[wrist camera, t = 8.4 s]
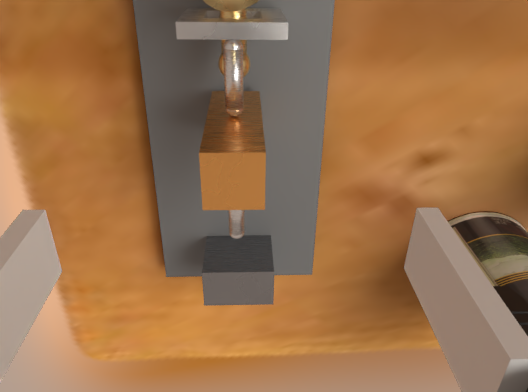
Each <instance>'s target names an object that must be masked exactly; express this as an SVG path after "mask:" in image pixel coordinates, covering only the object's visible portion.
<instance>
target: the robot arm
mask: <svg viewBox="0 0 528 392" xmlns="http://www.w3.org/2000/svg"><path fill="white" fill-rule="evenodd" d="M404 270H405V272H406V274H407V276H408V278H409V280H410V282H411V285H412V287H413V289H414V291H415V293H416V295H417V297H418V299H419V302H420V304H421V306H422V308H423V310H424V312H425V314H426V317H427V319H428V321H429V323H430V325H431V327H432V329H433V332H434V334H435V336H436V338H437V340H438V342H439V344H440V346H441V349H442V351H443V353H444V355H445V357H446V359H447V361H448V364H449V366H450V368H451V370H452V372H453V374H454V376H455V378H456V381H457V383H458V385H459V387H460V389H461V391H462V392H528V303H527V302H526V301H525V299H524V298H523V297H522V296H520V295H519V294H518V293H516V292H515V291H514V290H512V289H511V288H510V287H508V286H492V285H491V283H490V282H489V280H488V279H487V277H486V276H485V274H484V273H483V272H482V270H481V269H480V267H479V266H478V264H477V263H476V262H475V260H474V259H473V257H472V256H471V254H470V253H469V252H468V250H467V249H466V247H465V246H464V244H463V243H462V242H461V240H460V239H459V237H458V236H457V234H456V233H455V232H454V230H453V229H452V227H451V226H450V224H449V223H448V221H447V220H446V219H445V217H444V216H443V214H442V213H441V211H440V210H439V209H438V208H417V209H416V214H415V219H414V223H413V228H412V232H411V237H410V242H409V246H408V251H407V255H406V260H405V265H404ZM61 273H62V269H61V265H60V262H59V258H58V254H57V251H56V247H55V244H54V240H53V236H52V233H51V229H50V225H49V222H48V218H47V214H46V211H45V210H22V212H21V213H20V214H19V215H18V217H17V218H16V219H15V220H14V221H13V223H12V224H11V225H10V226H9V228H8V229H7V230H6V231H5V232H4V234H3V235H2V236H1V237H0V383H1V381H2V379H3V377H4V375H5V374H6V372H7V370H8V368H9V366H10V364H11V363H12V361H13V359H14V357H15V355H16V354H17V352H18V350H19V348H20V346H21V345H22V343H23V341H24V339H25V337H26V335H27V334H28V332H29V330H30V328H31V327H32V325H33V323H34V321H35V319H36V318H37V316H38V314H39V312H40V310H41V309H42V307H43V305H44V303H45V301H46V300H47V298H48V296H49V294H50V292H51V291H52V289H53V287H54V285H55V283H56V282H57V280H58V278H59V276H60V274H61Z"/></svg>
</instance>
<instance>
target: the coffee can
mask: <svg viewBox="0 0 528 392" xmlns="http://www.w3.org/2000/svg"><path fill="white" fill-rule="evenodd" d="M448 223H449V224H450V226H451V227H452V229H453V230H454V232H455V233H456V234H457V236H458V237H459V239H460V240H461V242H462V243H463V244H464V246H465V247H466V249H467V250H468V252H469V253H470V254H471V256H472V257H473V259H474V260H475V262H476V263H477V264H478V266H479V267H480V269H481V270H482V272H483V273H484V274H485V276H486V277H487V279H488V280H489V282H490V283H491V285H492V286H508V287H510V288H511V289H512V290H514V291H515V292H516V293H518V294H519V295H520V296H522V297H523V298H524V299H525V301H526V302H527V303H528V233H527V231H526V229H525V228H524V227H523V226H522V225H521V224H520V223H519V222H517V221H516V220H514V219H513V218H511V217H509V216H506V215H504V214H500V213H495V212H477V213H471V214H466V215H463V216H460V217H457V218H455V219H452V220H450V221H448Z"/></svg>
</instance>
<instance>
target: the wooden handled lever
mask: <svg viewBox="0 0 528 392" xmlns="http://www.w3.org/2000/svg"><path fill="white" fill-rule="evenodd" d="M175 23H176V35H177V39H206V40H226V41H225V42H224V45H223V58H224V90H225V91H212V95H211V99H210V104H209V109H208V113H207V118H206V122H205V127H204V132H203V136H202V141H201V145H200V150H199V162H200V178H201V193H202V209H203V210H228V217H229V234H230V236H231V237H232V238H234V239H240V238H242V237H243V236H244V233H245V210H265V177H266V149H265V139H264V130H263V120H262V111H261V101H260V91H243V45H242V43H241V41H240V40H288V21H287V19H286V17H285V16H284V14H283V12H282V10H281V9H269V8H247V19H220V10H217V9H215V8H187V9H186V11H185V12H184V13H183V14H182V15H181V16H180V17H179V18H178V20H177V21H176V22H175Z"/></svg>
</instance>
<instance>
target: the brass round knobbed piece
mask: <svg viewBox="0 0 528 392" xmlns="http://www.w3.org/2000/svg"><path fill="white" fill-rule="evenodd" d="M203 1H204V2H205V3H206V4H208V5H209V6H211V7H213V8H215V9H217V10H220V19H247V7H249V6H251V5H253V4H255V3H257V2H258V1H259V0H203ZM225 41H226V40H221V55H220V57H219V60H218V66H219V70H220V72H221V73H222V75H223V76H224V58H223V45H224V42H225ZM240 41H241V43H242V45H243V78H244V77H245V76H246V75H247V74H248V72H249V70H250V58H249V56H248V54H247V40H240Z"/></svg>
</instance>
